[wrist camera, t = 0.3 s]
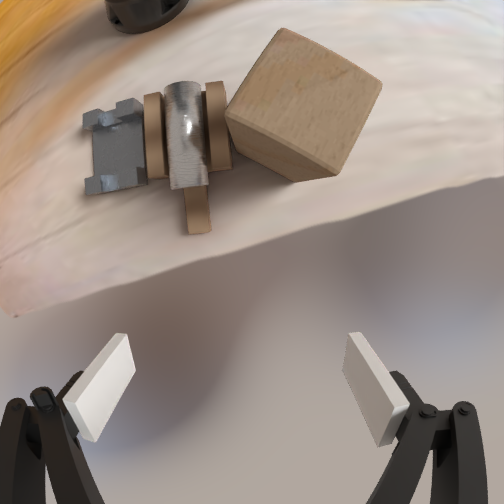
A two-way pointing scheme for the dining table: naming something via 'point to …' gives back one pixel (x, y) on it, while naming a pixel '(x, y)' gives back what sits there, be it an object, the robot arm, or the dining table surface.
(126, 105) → the v block
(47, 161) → the dining table surface
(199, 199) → the wooden clevis bracket
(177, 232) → the dining table surface
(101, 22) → the dining table surface
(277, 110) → the wooden block
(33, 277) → the dining table surface
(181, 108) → the axle
